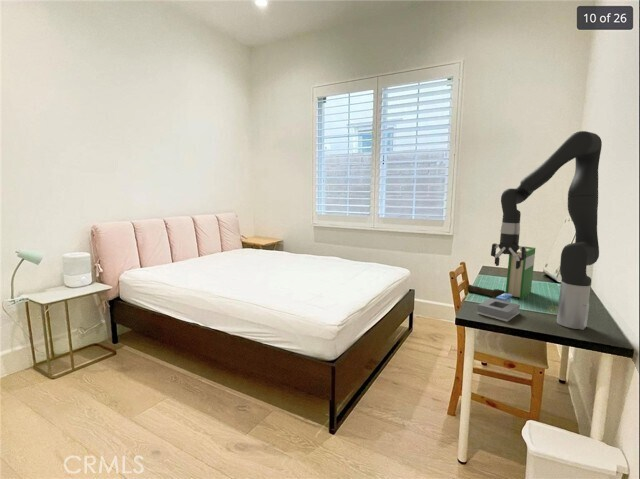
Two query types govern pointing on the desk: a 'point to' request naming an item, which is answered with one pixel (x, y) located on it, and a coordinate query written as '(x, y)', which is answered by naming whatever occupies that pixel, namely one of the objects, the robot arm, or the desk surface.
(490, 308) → the plate
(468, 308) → the desk surface
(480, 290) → the hand tool
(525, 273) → the hardback book
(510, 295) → the block
